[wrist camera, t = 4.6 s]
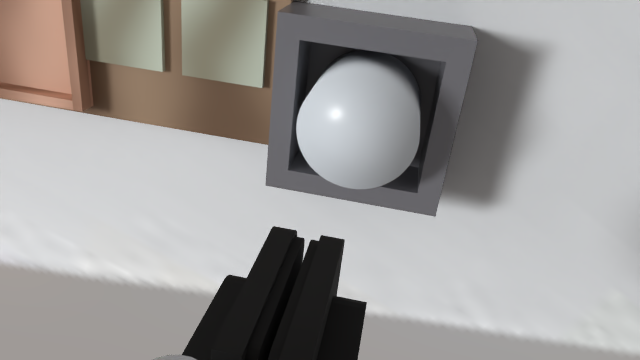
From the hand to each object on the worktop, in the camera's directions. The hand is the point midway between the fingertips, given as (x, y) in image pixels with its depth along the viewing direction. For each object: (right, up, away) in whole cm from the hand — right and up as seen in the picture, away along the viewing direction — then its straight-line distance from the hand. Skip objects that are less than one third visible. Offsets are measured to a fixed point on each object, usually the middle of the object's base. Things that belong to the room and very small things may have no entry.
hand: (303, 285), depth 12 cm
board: (-10, +10, +14) cm, 20 cm away
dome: (+3, +6, +13) cm, 14 cm away
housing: (+3, +6, +13) cm, 15 cm away
